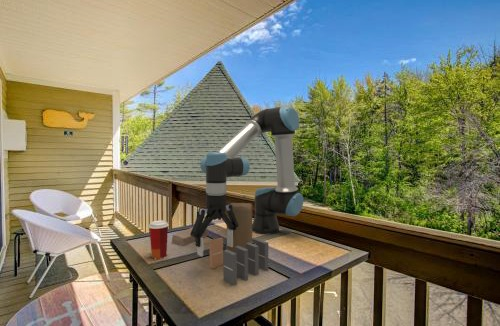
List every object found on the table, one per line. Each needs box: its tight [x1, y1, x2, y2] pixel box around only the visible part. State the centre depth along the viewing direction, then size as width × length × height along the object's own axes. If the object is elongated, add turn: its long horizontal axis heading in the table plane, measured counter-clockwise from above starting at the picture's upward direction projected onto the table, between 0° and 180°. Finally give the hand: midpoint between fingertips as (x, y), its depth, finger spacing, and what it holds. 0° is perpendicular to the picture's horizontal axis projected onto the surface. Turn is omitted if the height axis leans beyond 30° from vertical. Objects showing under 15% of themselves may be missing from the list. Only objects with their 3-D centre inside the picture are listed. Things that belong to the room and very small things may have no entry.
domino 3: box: [246, 242, 260, 276], centre depth 92 cm, size 2×5×10 cm, turn 43°
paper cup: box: [148, 219, 170, 260], centre depth 106 cm, size 8×8×14 cm
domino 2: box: [235, 246, 249, 281], centre depth 89 cm, size 2×5×10 cm, turn 44°
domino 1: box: [222, 249, 238, 286], centre depth 85 cm, size 2×5×10 cm, turn 43°
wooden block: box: [226, 202, 253, 253], centre depth 112 cm, size 10×10×20 cm
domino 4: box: [255, 238, 269, 272], centre depth 96 cm, size 2×5×10 cm, turn 43°
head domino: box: [209, 237, 224, 269], centre depth 97 cm, size 2×5×10 cm, turn 133°
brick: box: [171, 226, 208, 247], centre depth 126 cm, size 17×8×5 cm, turn 148°
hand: (215, 250), depth 97 cm, fingers open, 13 cm apart
